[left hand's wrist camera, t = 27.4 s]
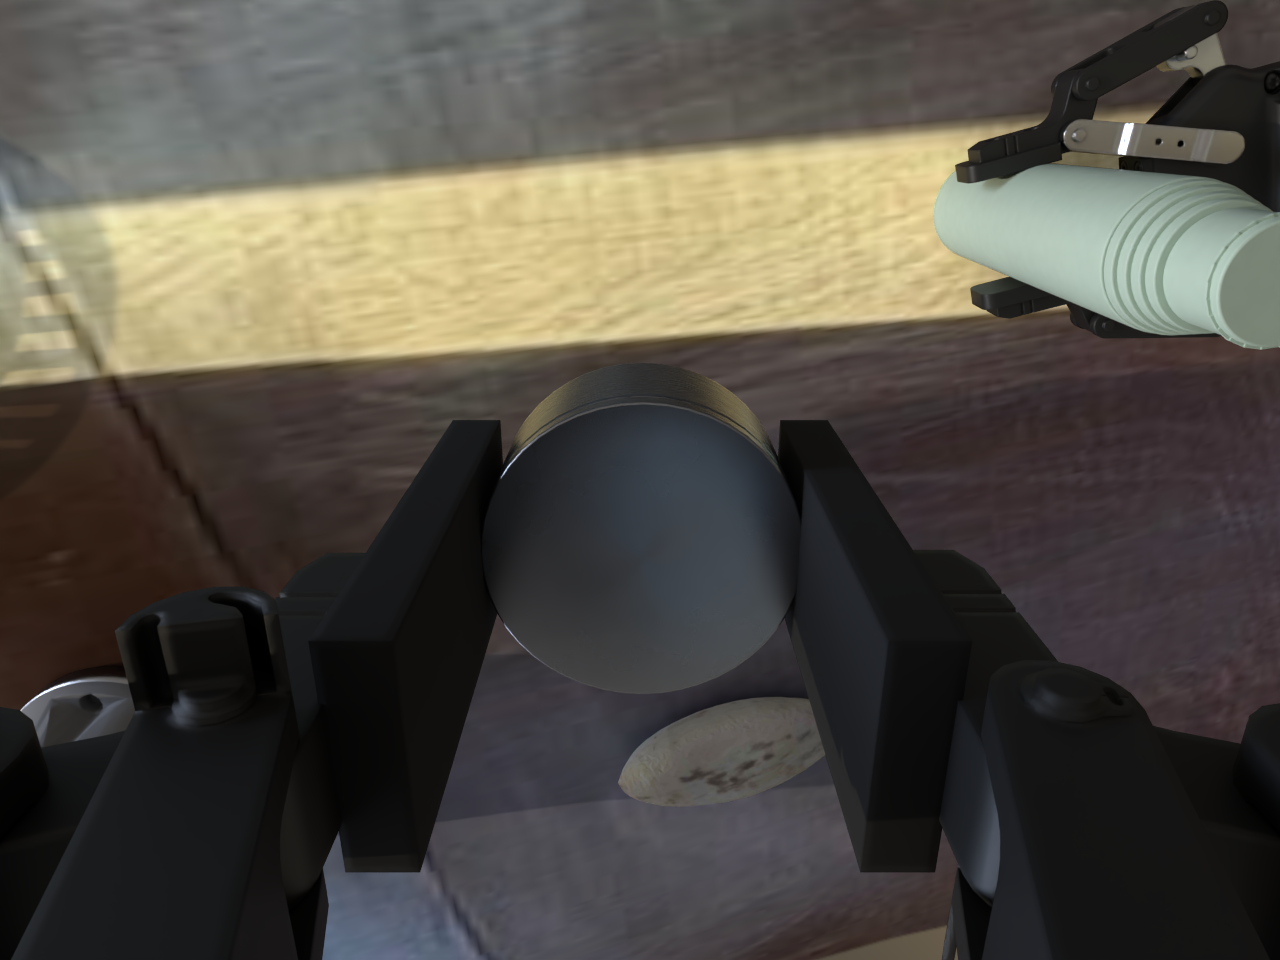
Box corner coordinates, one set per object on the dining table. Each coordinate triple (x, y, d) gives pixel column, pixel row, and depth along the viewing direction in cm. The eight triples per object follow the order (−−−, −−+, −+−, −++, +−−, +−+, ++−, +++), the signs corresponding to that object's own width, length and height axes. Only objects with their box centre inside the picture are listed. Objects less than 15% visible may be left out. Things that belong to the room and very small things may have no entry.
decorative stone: (866, 734, 55) (879, 771, 52) (639, 802, 58) (639, 841, 55) (839, 658, 53) (851, 691, 50) (605, 731, 56) (602, 767, 52)
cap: (805, 585, 15) (832, 657, 13) (549, 644, 15) (535, 723, 13) (749, 329, 13) (769, 364, 11) (464, 402, 14) (433, 450, 12)
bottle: (981, 277, 45) (1269, 408, 24) (912, 219, 44) (1150, 302, 23) (1050, 199, 43) (1422, 265, 22) (981, 136, 42) (1303, 145, 21)
